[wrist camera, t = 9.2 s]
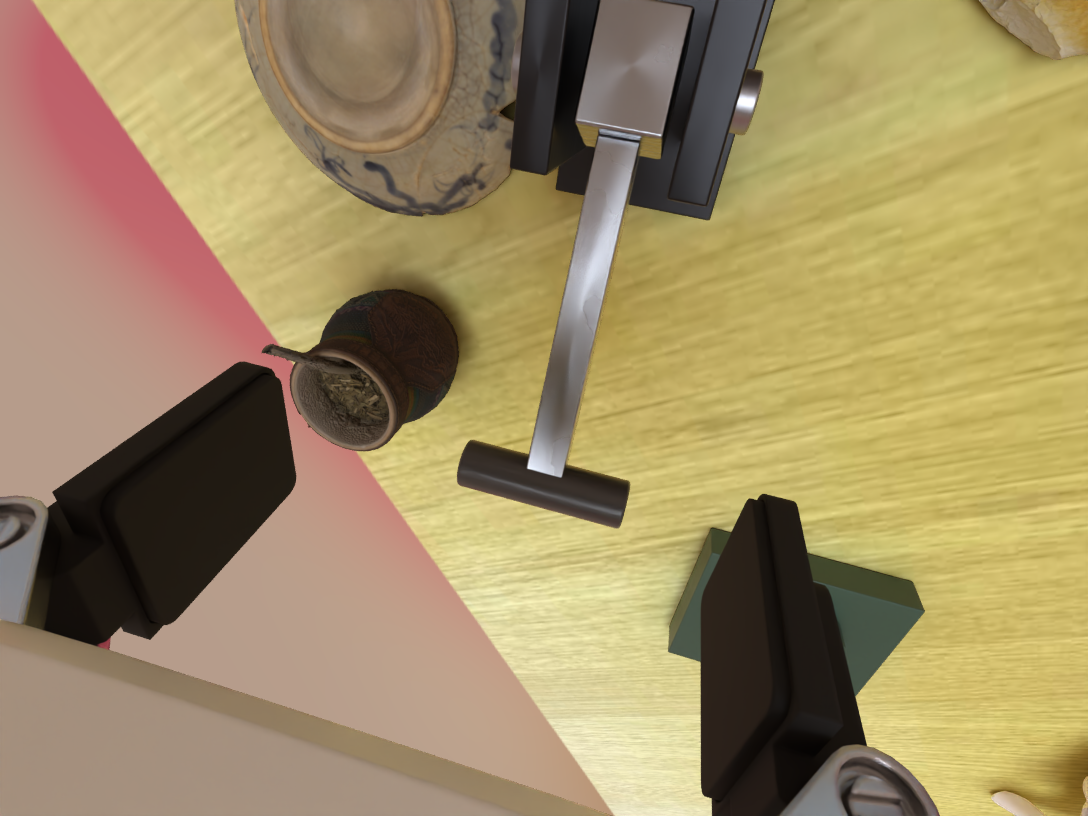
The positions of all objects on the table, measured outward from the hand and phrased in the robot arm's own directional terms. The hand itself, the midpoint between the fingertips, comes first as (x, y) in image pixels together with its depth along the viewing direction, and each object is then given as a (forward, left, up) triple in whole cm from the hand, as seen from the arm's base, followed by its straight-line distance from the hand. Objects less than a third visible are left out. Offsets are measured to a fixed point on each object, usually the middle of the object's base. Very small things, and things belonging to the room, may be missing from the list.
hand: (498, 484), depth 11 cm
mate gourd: (-11, -8, -19) cm, 23 cm away
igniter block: (+15, -21, -19) cm, 32 cm away
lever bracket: (0, +7, -19) cm, 20 cm away
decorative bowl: (-12, +6, -19) cm, 23 cm away
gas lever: (0, +1, -8) cm, 8 cm away
